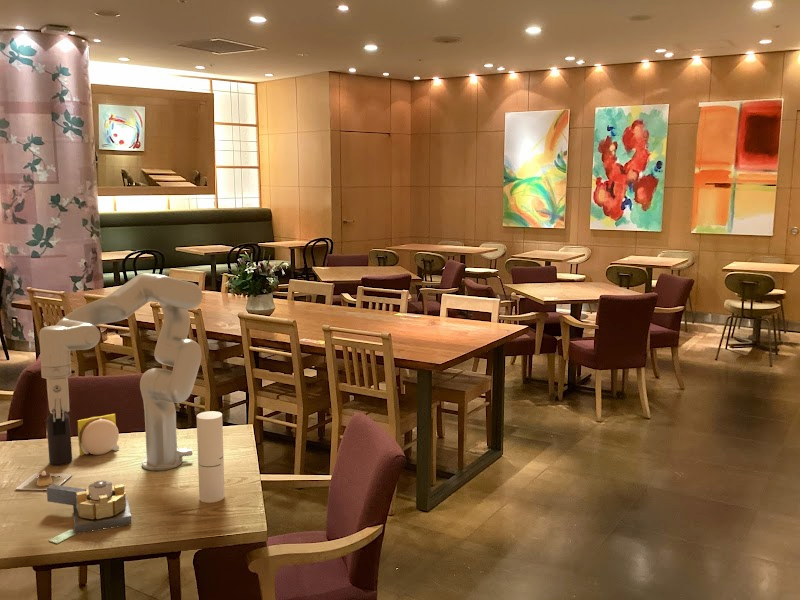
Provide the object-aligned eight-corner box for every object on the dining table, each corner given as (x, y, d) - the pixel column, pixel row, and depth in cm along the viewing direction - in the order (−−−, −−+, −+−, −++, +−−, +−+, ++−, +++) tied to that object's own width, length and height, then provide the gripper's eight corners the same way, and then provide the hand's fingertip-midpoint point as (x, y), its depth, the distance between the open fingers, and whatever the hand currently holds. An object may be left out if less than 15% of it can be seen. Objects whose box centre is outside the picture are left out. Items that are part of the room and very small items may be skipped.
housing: (127, 503, 213) (125, 469, 212) (132, 530, 198) (130, 494, 196) (48, 516, 205) (46, 480, 204) (48, 545, 189) (45, 507, 188)
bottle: (45, 462, 243) (41, 402, 240) (66, 456, 248) (63, 398, 245) (54, 467, 239) (50, 407, 235) (75, 461, 244) (72, 402, 240)
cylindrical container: (229, 494, 221) (227, 412, 216) (215, 504, 214) (213, 420, 210) (208, 490, 223) (205, 410, 219) (194, 500, 216) (191, 417, 212)
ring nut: (134, 502, 208) (133, 483, 207) (106, 521, 197) (105, 501, 196) (65, 492, 214) (64, 473, 213) (34, 510, 203) (33, 490, 202)
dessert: (35, 476, 233) (34, 461, 232) (73, 477, 233) (72, 462, 232) (14, 492, 221) (13, 477, 221) (54, 493, 221) (53, 478, 220)
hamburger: (84, 460, 245) (82, 425, 243) (77, 452, 251) (75, 418, 249) (122, 452, 252) (120, 418, 250) (114, 445, 259) (112, 412, 257)
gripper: (71, 375, 202) (74, 441, 205) (70, 363, 215) (73, 424, 218) (40, 378, 199) (44, 444, 202) (41, 365, 212) (45, 427, 215)
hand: (59, 434), depth 210 cm, fingers closed
